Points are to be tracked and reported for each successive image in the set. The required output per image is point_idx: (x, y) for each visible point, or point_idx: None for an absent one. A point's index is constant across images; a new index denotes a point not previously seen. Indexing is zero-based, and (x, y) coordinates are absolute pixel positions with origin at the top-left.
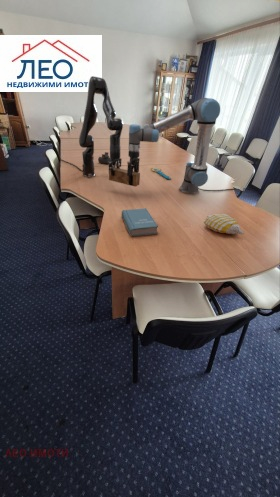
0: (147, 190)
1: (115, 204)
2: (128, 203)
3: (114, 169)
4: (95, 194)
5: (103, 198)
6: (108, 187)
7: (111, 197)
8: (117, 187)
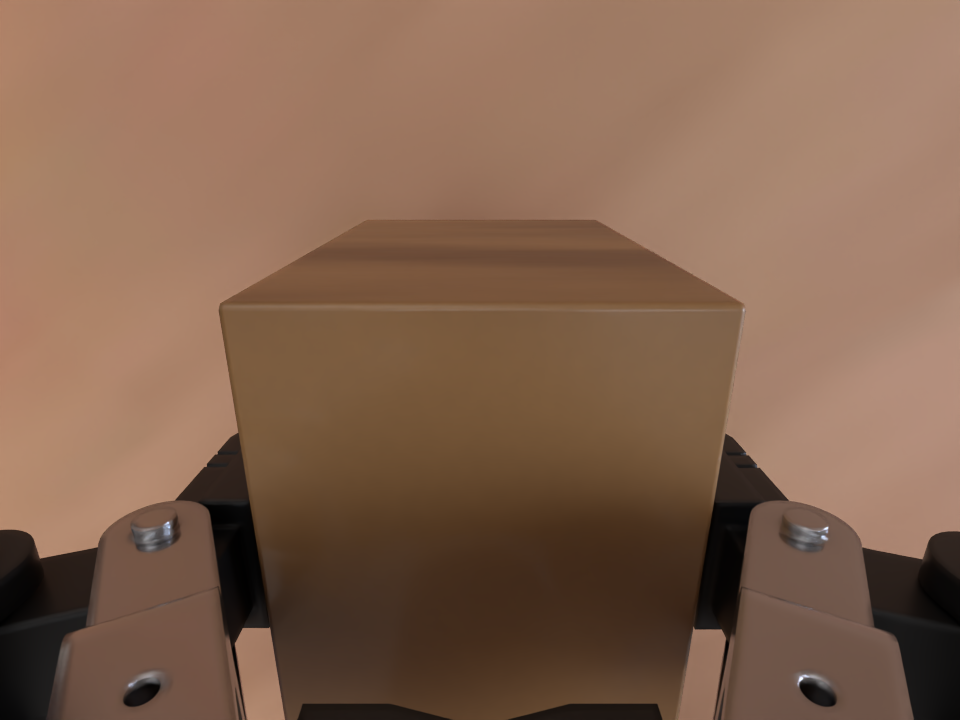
0: None
1: (88, 541)
2: (240, 643)
3: (343, 622)
4: (106, 58)
5: (97, 296)
6: (575, 54)
7: (225, 377)
8: (674, 216)
